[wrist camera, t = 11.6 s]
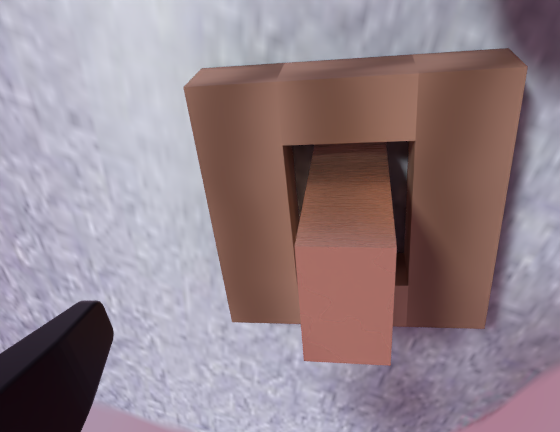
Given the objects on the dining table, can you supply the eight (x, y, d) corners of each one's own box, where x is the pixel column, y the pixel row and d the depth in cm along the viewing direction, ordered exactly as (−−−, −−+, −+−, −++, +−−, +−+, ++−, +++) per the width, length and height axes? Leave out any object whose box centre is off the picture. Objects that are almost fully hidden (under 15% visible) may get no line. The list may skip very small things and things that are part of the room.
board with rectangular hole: (508, 48, 18) (527, 66, 16) (473, 292, 25) (484, 328, 22) (201, 68, 20) (183, 87, 18) (242, 289, 27) (232, 321, 24)
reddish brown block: (385, 137, 21) (396, 247, 14) (382, 234, 23) (390, 365, 17) (315, 139, 21) (294, 246, 15) (320, 233, 24) (303, 361, 17)
